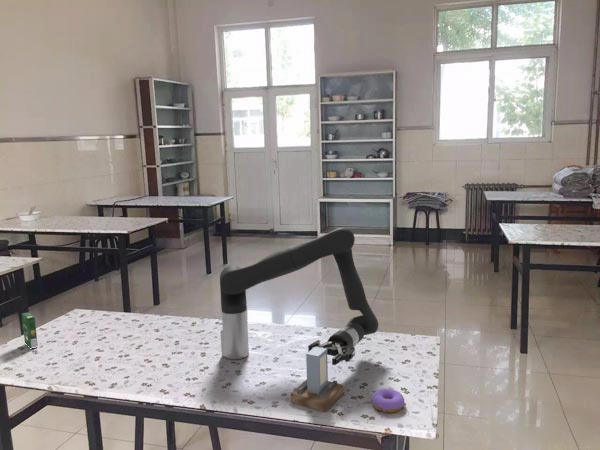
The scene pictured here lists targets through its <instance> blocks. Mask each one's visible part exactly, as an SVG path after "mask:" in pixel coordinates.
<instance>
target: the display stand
mask: <svg viewBox="0 0 600 450" xmlns="http://www.w3.org/2000/svg"><path fill="white" fill-rule="evenodd" d="M344 395H345V384H342V383H338V381H337V380H332V381H329V380H328V386H327V387H326V388H325V389H324V390H323V391H322V392H321V393H320V394H315V393H311V392H307V379H305V381H303V382H302V383H301V384H300V385H298V386H297V387H296V388H295V389H294V390H292V391H291V392H290V403H292V404H295V405H300V406H303V407H306V408H310V409H313V410H318V411H321V412H325V413H327V412H328V411H329V410H330V409H331V408H332V407H333V406H334V405H335V404H336V403H337V402H338V401H339V400H340V399H341V398H342V397H343V396H344Z"/></svg>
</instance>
